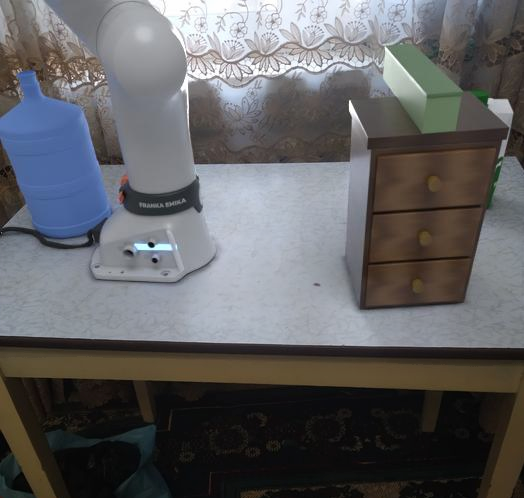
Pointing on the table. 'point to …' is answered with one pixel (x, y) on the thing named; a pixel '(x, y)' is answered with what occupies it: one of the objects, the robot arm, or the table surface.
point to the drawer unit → (417, 201)
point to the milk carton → (505, 114)
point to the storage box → (422, 88)
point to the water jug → (54, 162)
